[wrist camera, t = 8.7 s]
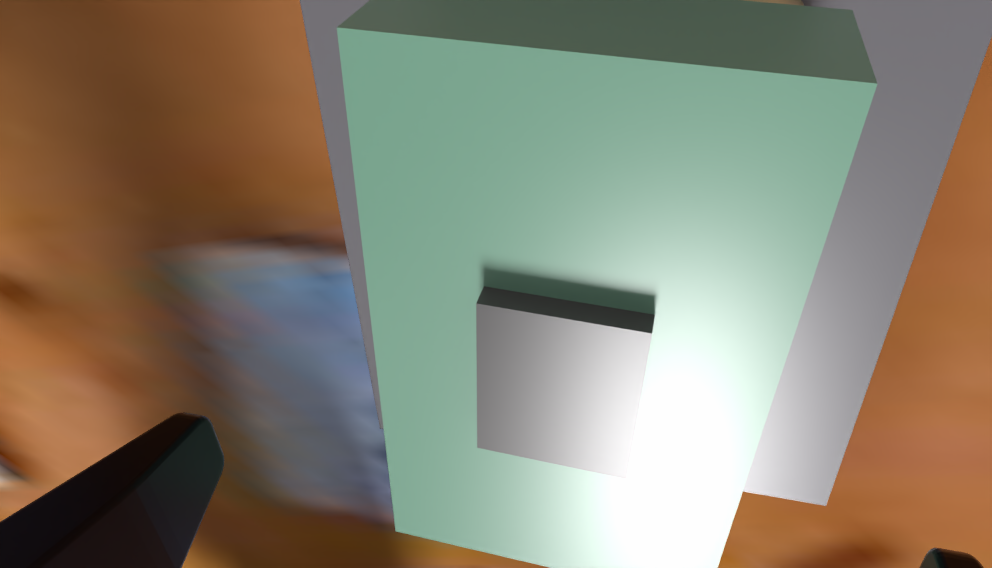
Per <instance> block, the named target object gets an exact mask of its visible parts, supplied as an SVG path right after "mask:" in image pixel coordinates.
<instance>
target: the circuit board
mask: <svg viewBox="0 0 992 568" xmlns="http://www.w3.org/2000/svg"><path fill="white" fill-rule="evenodd" d="M337 34H338V43H339V52H340V60H341V69H342V77H343V86H344V94H345V103H346V111H347V120H348V129H349V137H350V146H351V154H352V163H353V171H354V180H355V188H356V197H357V206H358V214H359V223H360V231H361V240H362V248H363V257H364V265H365V274H366V283H367V291H368V300H369V308H370V317H371V325H372V334H373V342H374V351H375V360H376V368H377V377H378V385H379V394H380V402H381V411H382V419H383V428H384V437H385V445H386V454H387V462H388V471H389V479H390V488H391V496H392V505H393V514H394V522H395V531H397V532H401V533H405V534H410V535H414V536H418V537H422V538H427V539H431V540H435V541H439V542H444V543H448V544H452V545H456V546H461V547H465V548H469V549H473V550H478V551H482V552H486V553H490V554H495V555H499V556H503V557H507V558H512V559H516V560H520V561H525V562H529V563H533V564H537V565H542V566H546V567H550V568H718V565H719V562H720V559H721V555H722V552H723V549H724V546H725V543H726V540H727V537H728V534H729V531H730V528H731V525H732V522H733V519H734V516H735V513H736V510H737V507H738V504H739V501H740V498H741V495H742V492H743V489H744V486H745V483H746V480H747V477H748V474H749V471H750V468H751V465H752V462H753V459H754V456H755V453H756V450H757V447H758V444H759V441H760V438H761V435H762V431H763V428H764V425H765V422H766V419H767V416H768V413H769V410H770V407H771V404H772V401H773V398H774V395H775V392H776V389H777V386H778V383H779V380H780V377H781V374H782V371H783V368H784V365H785V362H786V359H787V356H788V353H789V350H790V347H791V344H792V341H793V338H794V335H795V332H796V329H797V326H798V323H799V320H800V317H801V314H802V311H803V308H804V304H805V301H806V298H807V295H808V292H809V289H810V286H811V283H812V280H813V277H814V274H815V271H816V268H817V265H818V262H819V259H820V256H821V253H822V250H823V247H824V244H825V241H826V238H827V235H828V232H829V229H830V226H831V223H832V220H833V217H834V214H835V211H836V208H837V205H838V202H839V199H840V196H841V193H842V190H843V187H844V184H845V180H846V177H847V174H848V171H849V168H850V165H851V162H852V159H853V156H854V153H855V150H856V147H857V144H858V141H859V138H860V135H861V132H862V129H863V126H864V123H865V120H866V117H867V114H868V111H869V108H870V105H871V102H872V99H873V96H874V93H875V90H876V87H877V81H876V78H875V75H874V72H873V69H872V66H871V63H870V60H869V57H868V54H867V51H866V48H865V45H864V42H863V40H862V37H861V34H860V31H859V28H858V25H857V22H856V19H855V16H854V13H853V10H847V9H836V8H824V7H813V6H801V5H790V4H778V3H767V2H755V1H744V0H370V1H368V2H367V3H366V4H365V5H364V6H362V7H361V8H360V9H359V10H357V11H356V12H355V13H354V14H353V15H351V16H350V17H349V18H348V19H346V20H345V21H344V22H343V23H342V24H340V25H339V26H338V27H337Z"/></svg>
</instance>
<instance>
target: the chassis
mask: <svg viewBox="0 0 992 568" xmlns="http://www.w3.org/2000/svg"><path fill="white" fill-rule="evenodd" d="M368 1H370V0H300V4H301V9H302V14H303V20H304V25H305V30H306V36H307V41H308V46H309V52H310V57H311V62H312V68H313V73H314V78H315V84H316V89H317V94H318V100H319V105H320V110H321V116H322V121H323V126H324V132H325V137H326V142H327V148H328V153H329V158H330V164H331V169H332V174H333V180H334V185H335V190H336V196H337V201H338V206H339V212H340V217H341V222H342V228H343V233H344V238H345V244H346V249H347V254H348V260H349V265H350V270H351V276H352V281H353V286H354V292H355V297H356V302H357V308H358V313H359V318H360V324H361V329H362V334H363V340H364V345H365V350H366V356H367V361H368V366H369V372H370V377H371V382H372V388H373V393H374V398H375V404H376V409H377V414H378V420H379V425H380V428H381V429H384V428H383V419H382V411H381V402H380V394H379V385H378V377H377V368H376V360H375V351H374V342H373V334H372V325H371V317H370V308H369V300H368V291H367V283H366V274H365V265H364V257H363V248H362V240H361V231H360V223H359V214H358V206H357V197H356V188H355V180H354V171H353V163H352V154H351V146H350V137H349V129H348V120H347V111H346V103H345V94H344V86H343V77H342V69H341V60H340V52H339V43H338V34H337V27H338V26H339V25H340V24H342V23H343V22H344V21H345V20H346V19H348V18H349V17H350V16H351V15H353V14H354V13H355V12H356V11H357V10H359V9H360V8H361V7H362V6H364V5H365V4H366V3H367V2H368ZM744 1H755V2H767V3H778V4H790V5H801V6H813V7H824V8H836V9H847V10H853V13H854V16H855V19H856V22H857V25H858V28H859V31H860V34H861V37H862V40H863V42H864V45H865V48H866V51H867V54H868V57H869V60H870V63H871V66H872V69H873V72H874V75H875V78H876V81H877V87H876V90H875V93H874V96H873V99H872V102H871V105H870V108H869V111H868V114H867V117H866V120H865V123H864V126H863V129H862V132H861V135H860V138H859V141H858V144H857V147H856V150H855V153H854V156H853V159H852V162H851V165H850V168H849V171H848V174H847V177H846V180H845V184H844V187H843V190H842V193H841V196H840V199H839V202H838V205H837V208H836V211H835V214H834V217H833V220H832V223H831V226H830V229H829V232H828V235H827V238H826V241H825V244H824V247H823V250H822V253H821V256H820V259H819V262H818V265H817V268H816V271H815V274H814V277H813V280H812V283H811V286H810V289H809V292H808V295H807V298H806V301H805V304H804V308H803V311H802V314H801V317H800V320H799V323H798V326H797V329H796V332H795V335H794V338H793V341H792V344H791V347H790V350H789V353H788V356H787V359H786V362H785V365H784V368H783V371H782V374H781V377H780V380H779V383H778V386H777V389H776V392H775V395H774V398H773V401H772V404H771V407H770V410H769V413H768V416H767V419H766V422H765V425H764V428H763V431H762V435H761V438H760V441H759V444H758V447H757V450H756V453H755V456H754V459H753V462H752V465H751V468H750V471H749V474H748V477H747V480H746V483H745V486H744V489H743V491H744V492H750V493H755V494H761V495H767V496H773V497H779V498H784V499H790V500H796V501H802V502H807V503H813V504H819V505H825V506H826V504H827V501H828V498H829V496H830V493H831V490H832V487H833V484H834V481H835V479H836V476H837V473H838V470H839V467H840V464H841V462H842V459H843V456H844V453H845V450H846V447H847V445H848V442H849V439H850V436H851V433H852V430H853V428H854V425H855V422H856V419H857V416H858V413H859V411H860V408H861V405H862V402H863V399H864V396H865V394H866V391H867V388H868V385H869V382H870V379H871V377H872V374H873V371H874V368H875V365H876V362H877V360H878V357H879V354H880V351H881V348H882V345H883V343H884V340H885V337H886V334H887V331H888V328H889V326H890V323H891V320H892V317H893V314H894V312H895V309H896V306H897V303H898V300H899V297H900V295H901V292H902V289H903V286H904V283H905V280H906V278H907V275H908V272H909V269H910V266H911V263H912V261H913V258H914V255H915V252H916V249H917V246H918V244H919V241H920V238H921V235H922V232H923V229H924V227H925V224H926V221H927V218H928V215H929V212H930V210H931V207H932V204H933V201H934V198H935V195H936V193H937V190H938V187H939V184H940V181H941V178H942V176H943V173H944V170H945V167H946V164H947V161H948V159H949V156H950V153H951V150H952V147H953V144H954V142H955V139H956V136H957V133H958V130H959V127H960V125H961V122H962V119H963V116H964V113H965V110H966V108H967V105H968V102H969V99H970V96H971V93H972V91H973V88H974V85H975V82H976V79H977V76H978V74H979V71H980V68H981V65H982V62H983V59H984V57H985V54H986V51H987V48H988V45H989V42H990V40H991V37H992V0H744Z"/></svg>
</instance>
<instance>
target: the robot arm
mask: <svg viewBox="0 0 992 568" xmlns="http://www.w3.org/2000/svg"><path fill="white" fill-rule="evenodd" d="M223 467H224V455H223V451H222V449H221V446H220V444H219V441H218V438H217V436H216V433H215V430H214V428H213V425H212V423H211V421H210V420H209V419H208V418H207V417H205V416H201V415H196V414H190V413H177V414H175V415H173V416H171V417H169V418H168V419H166V420H164V421H163V422H161V423H160V424H158V425H156V426H155V427H153V428H151V429H150V430H148V431H147V432H145V433H143V434H142V435H140V436H139V437H137V438H135V439H134V440H132V441H130V442H129V443H127V444H126V445H124V446H122V447H121V448H119V449H117V450H116V451H114V452H113V453H111V454H109V455H108V456H106V457H105V458H103V459H101V460H100V461H98V462H96V463H95V464H93V465H92V466H90V467H88V468H87V469H85V470H83V471H82V472H80V473H79V474H77V475H75V476H74V477H72V478H71V479H69V480H67V481H66V482H64V483H62V484H61V485H59V486H58V487H56V488H54V489H53V490H51V491H49V492H48V493H46V494H45V495H43V496H41V497H40V498H38V499H37V500H35V501H33V502H32V503H30V504H28V505H27V506H25V507H24V508H22V509H20V510H19V511H17V512H15V513H14V514H12V515H11V516H9V517H7V518H6V519H4V520H3V521H1V522H0V568H181V567H182V565H183V563H184V561H185V559H186V556H187V554H188V552H189V549H190V547H191V545H192V542H193V540H194V538H195V535H196V533H197V531H198V528H199V526H200V524H201V521H202V519H203V516H204V514H205V512H206V509H207V507H208V505H209V502H210V500H211V498H212V495H213V493H214V491H215V488H216V486H217V483H218V481H219V479H220V476H221V474H222V471H223ZM919 568H983V566H982V565H981V564H980V562H979V561H978V560H977V559H976V558H974V557H973V556H971V555H970V554H967V553H963V552H958V551H952V550H947V549H941V548H933V549H931V550H929V551H928V553H927V554H926V556H925V558H924V560H923V562H922V563H921V565H920V567H919Z"/></svg>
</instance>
